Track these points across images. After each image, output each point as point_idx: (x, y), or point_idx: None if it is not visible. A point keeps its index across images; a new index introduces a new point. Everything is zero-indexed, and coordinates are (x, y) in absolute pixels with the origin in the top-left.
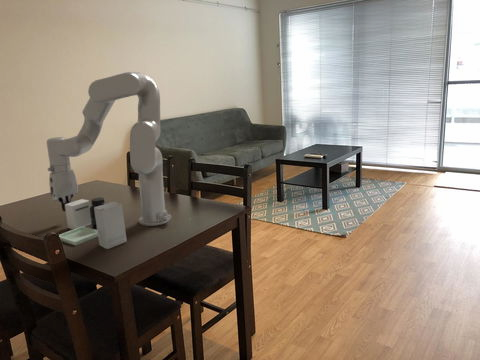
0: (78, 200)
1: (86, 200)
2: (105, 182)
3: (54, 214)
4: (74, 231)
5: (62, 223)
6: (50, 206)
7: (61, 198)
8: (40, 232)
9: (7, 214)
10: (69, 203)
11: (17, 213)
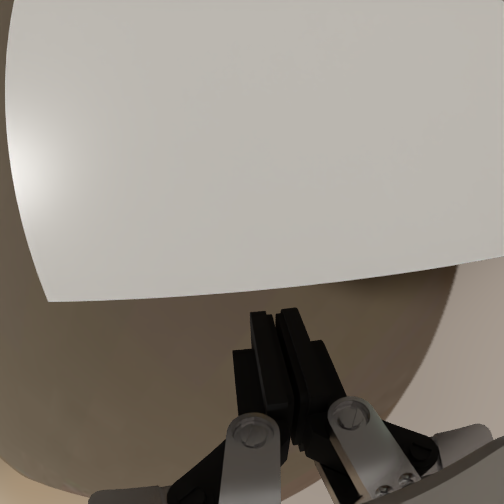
0: (171, 265)
1: (27, 47)
2: (3, 460)
3: (221, 430)
4: None
5: (291, 292)
6: None
7: (400, 464)
8: None
9: (313, 480)
10: (471, 221)
11: (293, 478)
